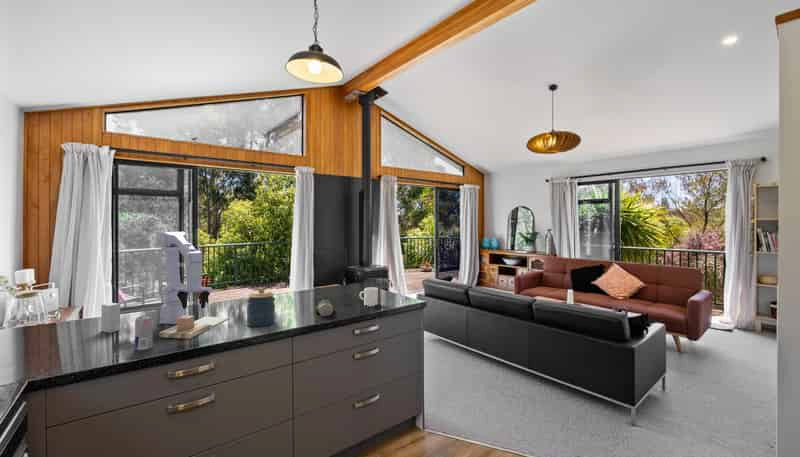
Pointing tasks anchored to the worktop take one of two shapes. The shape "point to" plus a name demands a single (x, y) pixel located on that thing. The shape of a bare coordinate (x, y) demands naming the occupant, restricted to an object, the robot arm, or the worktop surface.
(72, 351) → the worktop surface
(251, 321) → the canister
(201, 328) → the socket block
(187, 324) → the peg
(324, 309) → the ceramic sculpture
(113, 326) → the skincare box
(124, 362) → the worktop surface
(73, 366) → the worktop surface
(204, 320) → the sage mat
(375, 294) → the mug
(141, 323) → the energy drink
